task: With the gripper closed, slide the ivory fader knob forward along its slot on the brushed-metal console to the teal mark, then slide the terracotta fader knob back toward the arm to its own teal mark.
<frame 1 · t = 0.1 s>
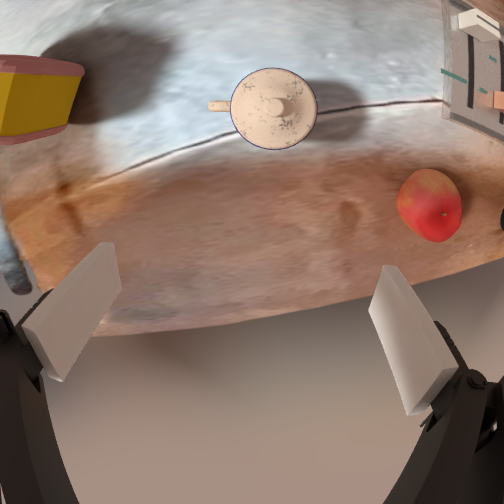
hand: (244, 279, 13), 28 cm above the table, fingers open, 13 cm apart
teacup with lid: (261, 109, 35), on the table
fader A: (479, 25, 19), point 5 cm above the table, slide at 0.0 cm
alarm clock: (52, 90, 32), on the table
apple: (412, 193, 38), on the table
console: (479, 71, 27), on the table
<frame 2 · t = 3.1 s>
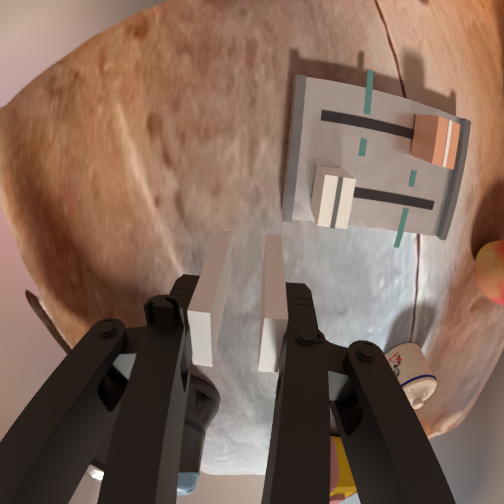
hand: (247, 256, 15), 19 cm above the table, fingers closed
teacup with lid: (396, 362, 46), on the table
fader A: (331, 195, 28), point 5 cm above the table, slide at 0.0 cm
alarm clock: (323, 442, 63), on the table
apple: (483, 255, 35), on the table
console: (377, 158, 30), on the table
fader B: (435, 140, 24), point 5 cm above the table, slide at 11.0 cm
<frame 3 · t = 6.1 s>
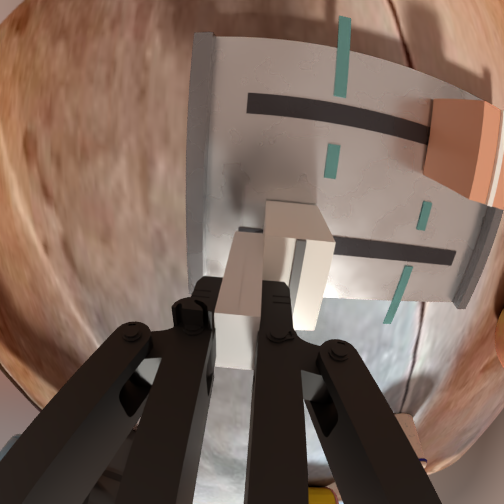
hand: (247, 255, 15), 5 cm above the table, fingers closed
teacup with lid: (381, 430, 34), on the table
fader A: (289, 263, 15), point 5 cm above the table, slide at 1.5 cm, touching gripper
alarm clock: (298, 489, 50), on the table
console: (363, 179, 18), on the table
fader B: (471, 149, 11), point 5 cm above the table, slide at 11.0 cm
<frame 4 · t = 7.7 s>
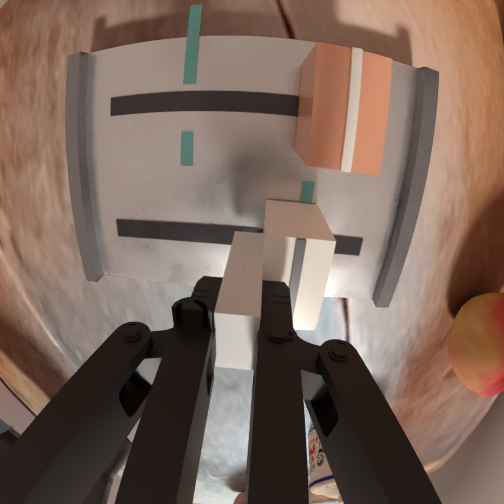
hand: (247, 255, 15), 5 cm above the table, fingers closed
teacup with lid: (334, 434, 34), on the table
fader A: (290, 262, 15), point 5 cm above the table, slide at 9.7 cm, touching gripper
alarm clock: (267, 489, 50), on the table
apple: (468, 309, 23), on the table
console: (242, 164, 18), on the table
fader B: (337, 109, 11), point 5 cm above the table, slide at 11.0 cm
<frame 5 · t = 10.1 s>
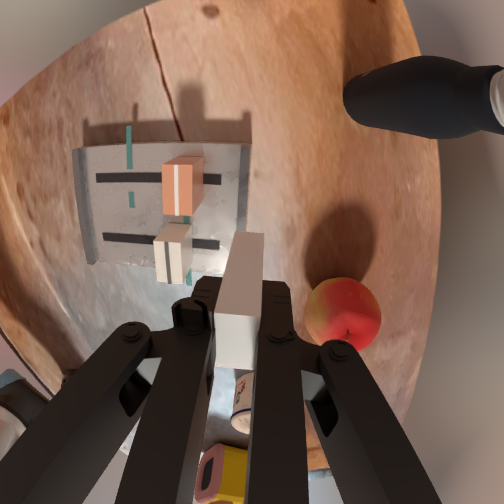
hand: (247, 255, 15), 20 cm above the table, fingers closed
teacup with lid: (258, 387, 51), on the table
fader A: (174, 252, 32), point 5 cm above the table, slide at 9.7 cm
alarm clock: (227, 450, 67), on the table
black water bottle: (367, 100, 28), on the table
apple: (334, 290, 40), on the table
console: (161, 203, 35), on the table
fader B: (183, 184, 28), point 5 cm above the table, slide at 11.0 cm
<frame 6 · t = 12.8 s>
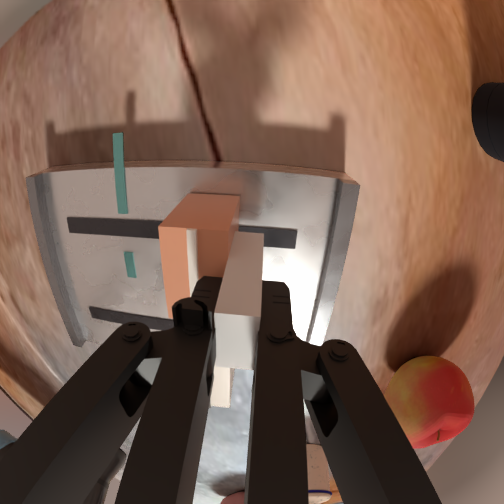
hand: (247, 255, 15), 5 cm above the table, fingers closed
teacup with lid: (297, 454, 37), on the table
fader A: (211, 358, 19), point 5 cm above the table, slide at 9.7 cm
alarm clock: (249, 495, 54), on the table
black water bottle: (495, 120, 14), on the table
apple: (413, 364, 26), on the table
console: (180, 266, 21), on the table
fader B: (204, 254, 15), point 5 cm above the table, slide at 9.5 cm, touching gripper
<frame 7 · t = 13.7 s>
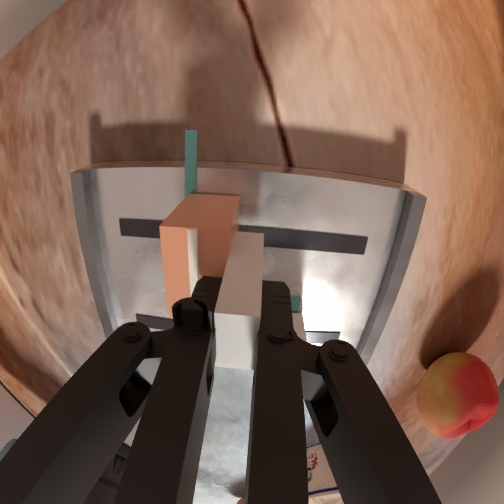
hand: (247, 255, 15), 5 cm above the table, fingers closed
teacup with lid: (323, 453, 37), on the table
fader A: (278, 363, 19), point 5 cm above the table, slide at 9.7 cm
apple: (441, 361, 26), on the table
console: (240, 271, 21), on the table
fader B: (205, 254, 15), point 5 cm above the table, slide at 4.9 cm, touching gripper
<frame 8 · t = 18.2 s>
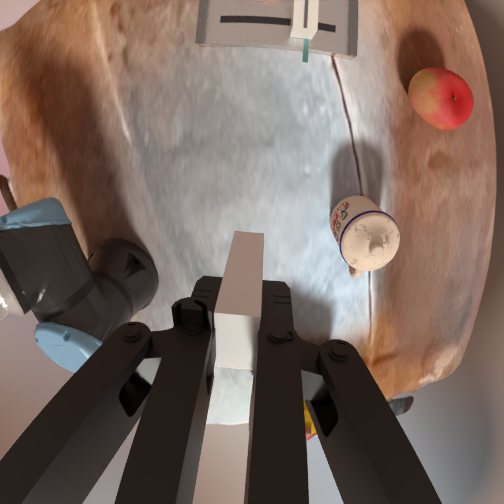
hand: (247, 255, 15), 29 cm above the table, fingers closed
teacup with lid: (352, 227, 45), on the table
fader A: (303, 17, 27), point 5 cm above the table, slide at 9.7 cm
apple: (422, 97, 34), on the table
console: (279, 4, 29), on the table
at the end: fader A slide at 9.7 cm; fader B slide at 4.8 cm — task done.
